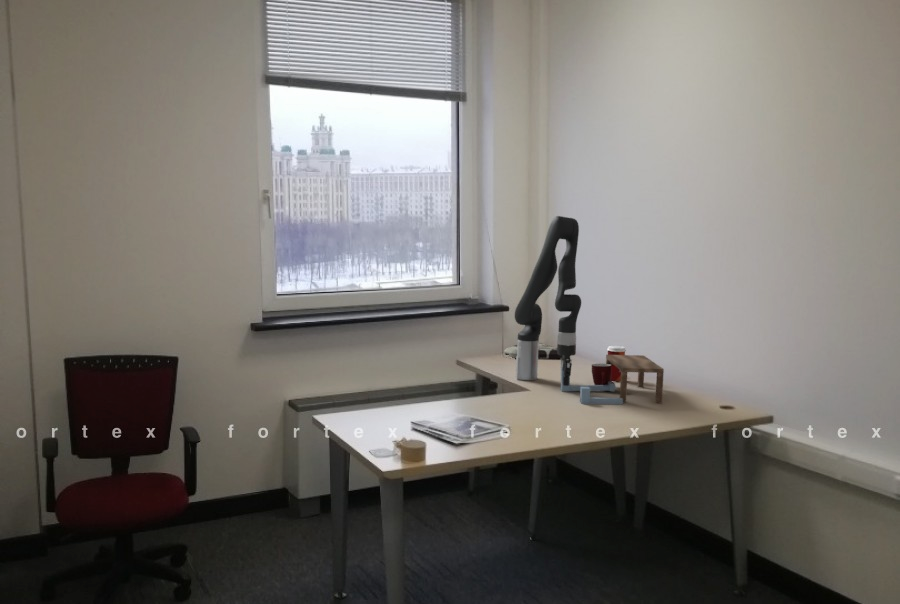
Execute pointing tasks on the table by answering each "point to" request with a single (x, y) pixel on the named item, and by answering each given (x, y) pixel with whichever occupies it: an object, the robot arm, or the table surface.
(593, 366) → the mug
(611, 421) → the table surface
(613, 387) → the light blue l-shaped bar
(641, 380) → the small wooden table
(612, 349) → the coffee cup
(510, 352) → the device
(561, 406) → the table surface
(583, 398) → the blue l-shaped block
